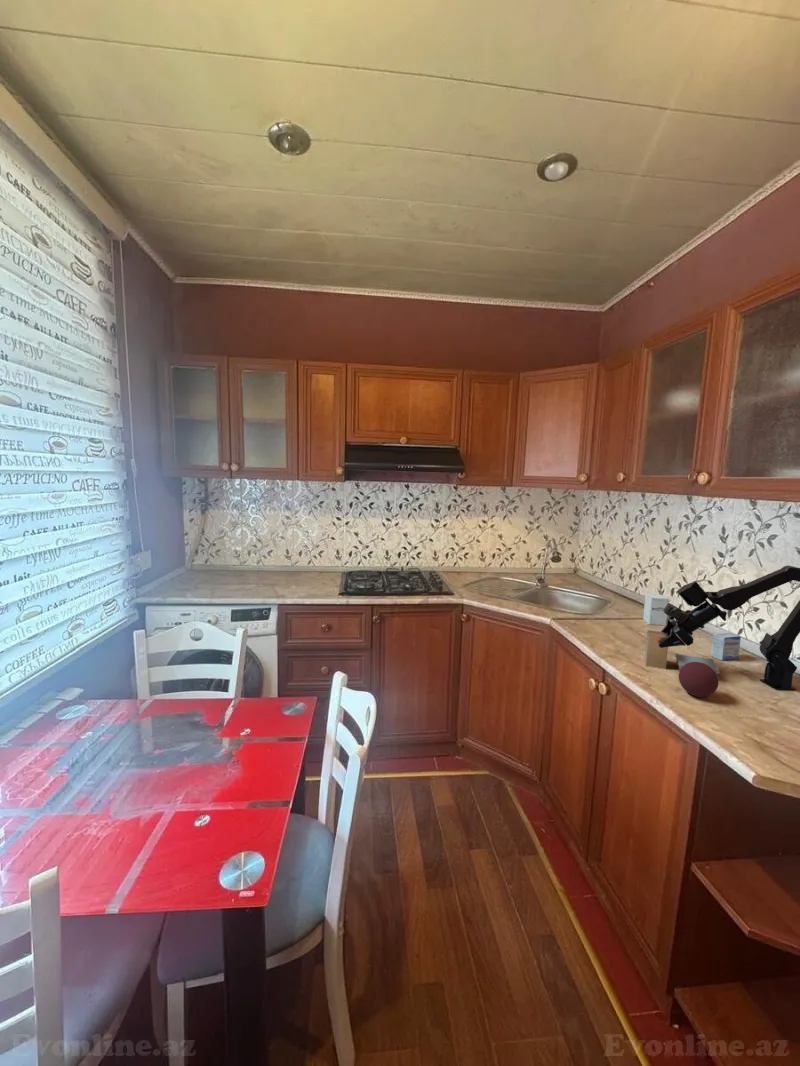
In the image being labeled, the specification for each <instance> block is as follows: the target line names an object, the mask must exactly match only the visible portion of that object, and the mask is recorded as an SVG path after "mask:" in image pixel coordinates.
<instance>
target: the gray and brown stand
mask: <svg viewBox="0 0 800 1066" xmlns="http://www.w3.org/2000/svg"><path fill="white" fill-rule="evenodd" d="M675 657H676V658H675V659H676V666H677V669H678V671H680V669H681V668H682V667H683V666H684V665H685V664H687V663H690V662H701V663H704V664H706V665H708V666H710V667H711V668H712V669H713V670H714V671H715V673H716V674H717V675H719V674H720V670H719V668H718V666H717V664H716V663H715V661H714V659H713V658H706V657H702V656H701V657H699V656H693V655H688V654H681V653H675Z"/></svg>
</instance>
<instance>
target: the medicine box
mask: <svg viewBox="0 0 800 1066" xmlns="http://www.w3.org/2000/svg"><path fill="white" fill-rule="evenodd" d="M740 645H741V636H740V635H738V634H735V633H732V632H724V633H716V634H715V633H714V634H713V635H712V643H711V653H710V656H711V657H712V658H714V657H715V658H714V659H716V660H717V659H718V660H719V659H720V661H722V660H724V661H729V660H730V659H732V660H738V659H739V655H740V654H739V653H740Z"/></svg>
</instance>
